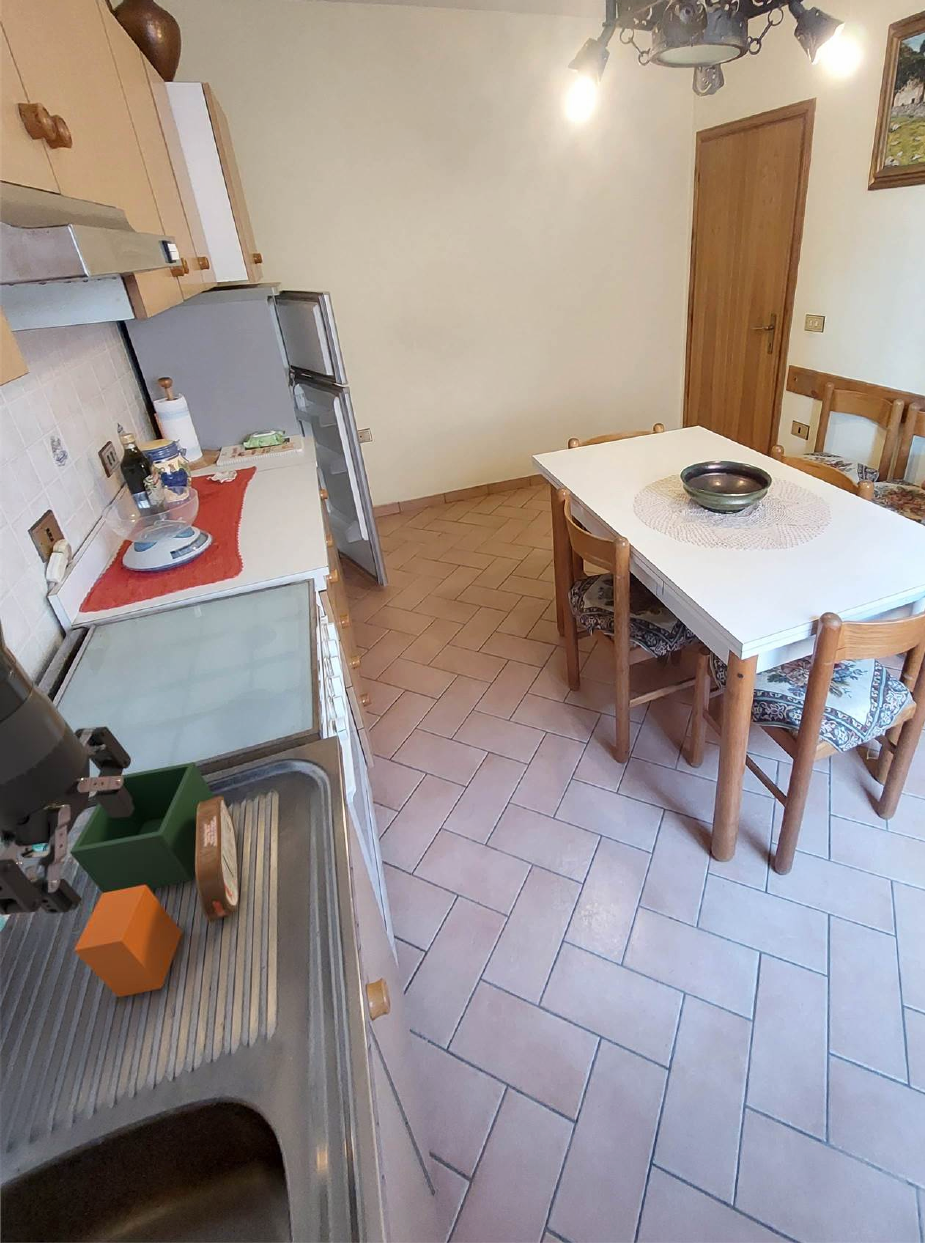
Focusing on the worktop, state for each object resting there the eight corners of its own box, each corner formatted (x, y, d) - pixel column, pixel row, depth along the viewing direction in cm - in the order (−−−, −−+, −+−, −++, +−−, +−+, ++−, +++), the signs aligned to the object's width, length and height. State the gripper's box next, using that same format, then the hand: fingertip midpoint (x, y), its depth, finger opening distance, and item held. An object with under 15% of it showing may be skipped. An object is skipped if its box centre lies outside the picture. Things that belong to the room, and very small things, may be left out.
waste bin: (106, 897, 72) (69, 852, 68) (144, 820, 81) (113, 776, 77) (192, 880, 73) (161, 835, 69) (219, 806, 82) (194, 761, 77)
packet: (118, 997, 63) (73, 950, 58) (141, 941, 68) (102, 893, 63) (162, 988, 63) (121, 941, 58) (182, 932, 68) (146, 884, 63)
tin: (215, 830, 79) (191, 790, 75) (240, 818, 80) (218, 779, 76) (216, 939, 67) (187, 899, 63) (245, 924, 68) (219, 883, 64)
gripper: (23, 683, 53) (102, 792, 62) (-122, 837, 41) (1, 947, 49) (107, 676, 53) (174, 785, 62) (-13, 828, 41) (91, 939, 49)
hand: (97, 857), depth 56 cm, fingers open, 8 cm apart
